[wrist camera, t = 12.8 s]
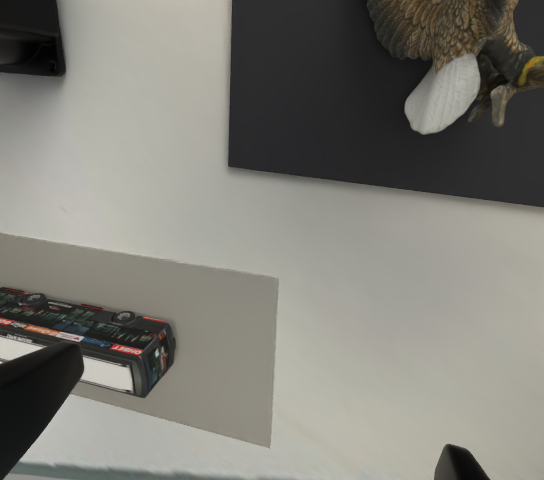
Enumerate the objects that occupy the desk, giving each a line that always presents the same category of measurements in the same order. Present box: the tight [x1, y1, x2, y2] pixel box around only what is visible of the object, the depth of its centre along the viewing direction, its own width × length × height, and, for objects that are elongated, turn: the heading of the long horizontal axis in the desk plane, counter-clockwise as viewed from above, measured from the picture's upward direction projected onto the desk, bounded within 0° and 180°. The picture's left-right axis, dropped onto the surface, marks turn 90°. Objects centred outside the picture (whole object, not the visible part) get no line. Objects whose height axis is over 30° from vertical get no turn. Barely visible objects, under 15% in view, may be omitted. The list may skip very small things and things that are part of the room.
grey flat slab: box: [0, 234, 278, 448], centre depth 24 cm, size 14×25×4 cm, turn 88°
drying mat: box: [228, 0, 544, 207], centre depth 14 cm, size 20×14×1 cm
